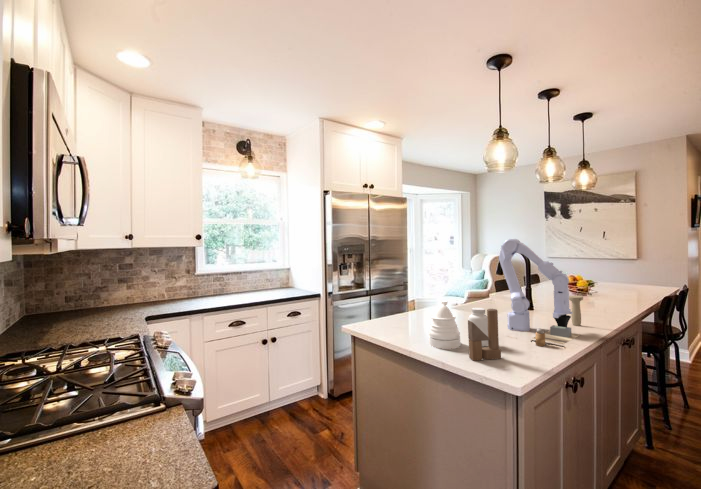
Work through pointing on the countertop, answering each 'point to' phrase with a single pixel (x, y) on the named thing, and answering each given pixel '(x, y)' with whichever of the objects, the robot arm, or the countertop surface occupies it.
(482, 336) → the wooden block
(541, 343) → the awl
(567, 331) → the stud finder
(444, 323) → the honey pot
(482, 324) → the pill bottle
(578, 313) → the handle
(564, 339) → the panel
